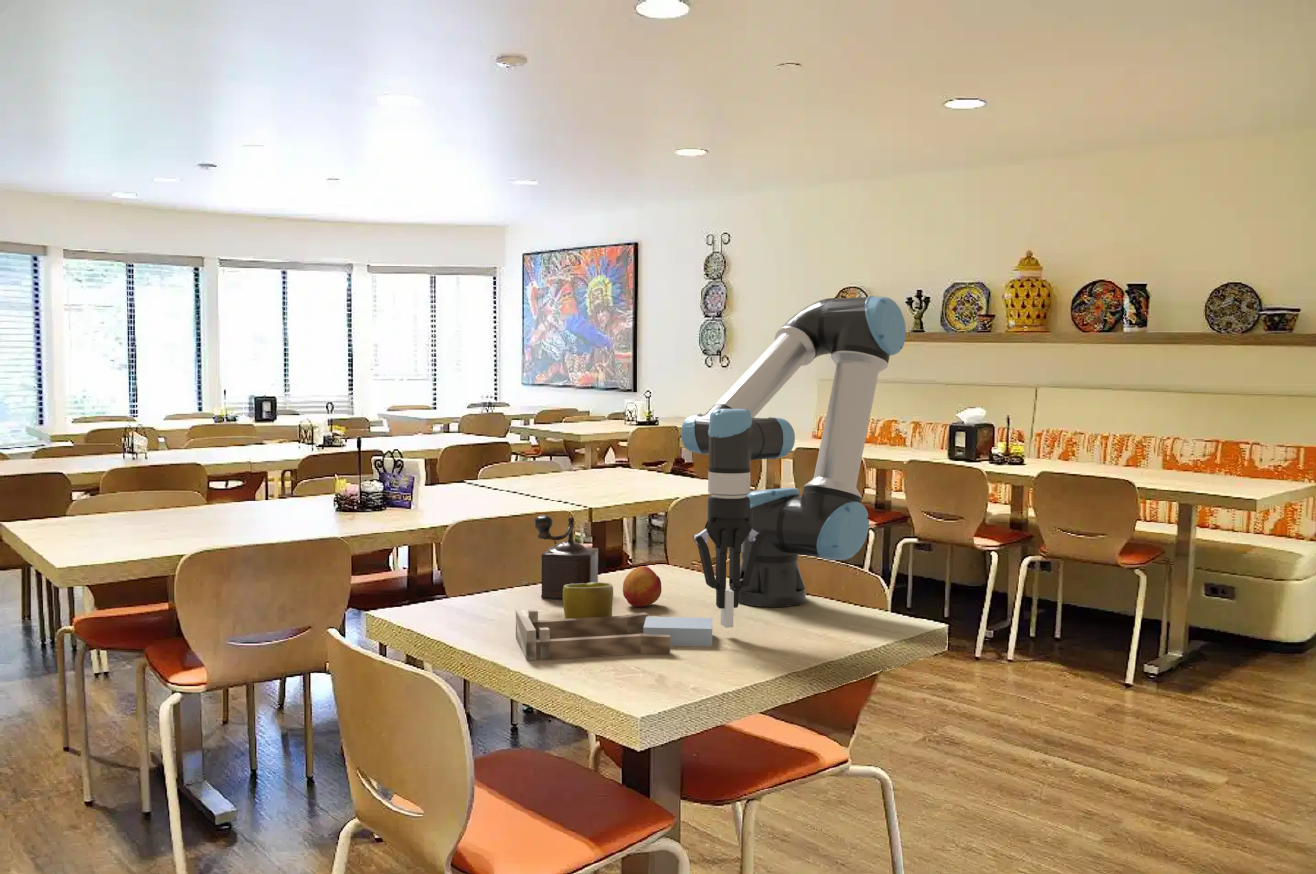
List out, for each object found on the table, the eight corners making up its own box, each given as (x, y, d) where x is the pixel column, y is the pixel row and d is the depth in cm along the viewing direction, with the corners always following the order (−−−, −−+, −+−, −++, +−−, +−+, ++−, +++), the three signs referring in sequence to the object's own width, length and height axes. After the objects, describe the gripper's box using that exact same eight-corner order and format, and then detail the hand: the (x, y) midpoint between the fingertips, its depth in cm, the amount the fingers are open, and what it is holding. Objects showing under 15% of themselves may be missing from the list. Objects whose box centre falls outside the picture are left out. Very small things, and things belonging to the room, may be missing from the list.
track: (646, 628, 203) (646, 601, 202) (672, 654, 185) (672, 625, 185) (514, 635, 197) (514, 608, 196) (528, 663, 179) (528, 633, 179)
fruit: (666, 609, 218) (666, 570, 217) (627, 611, 216) (627, 571, 215) (657, 601, 226) (657, 562, 225) (618, 602, 224) (618, 564, 223)
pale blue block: (712, 636, 199) (712, 617, 198) (711, 648, 191) (712, 628, 190) (646, 635, 199) (646, 616, 199) (643, 647, 191) (643, 627, 191)
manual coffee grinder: (549, 588, 237) (549, 506, 236) (599, 590, 236) (599, 507, 234) (530, 604, 222) (530, 516, 221) (584, 606, 220) (584, 517, 219)
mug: (613, 626, 196) (600, 572, 198) (561, 640, 199) (548, 587, 200) (632, 623, 208) (619, 572, 210) (583, 637, 210) (570, 586, 212)
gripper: (756, 492, 201) (754, 619, 202) (687, 493, 197) (686, 622, 199) (770, 497, 193) (768, 628, 195) (700, 498, 190) (698, 632, 192)
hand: (726, 625), depth 197 cm, fingers closed
